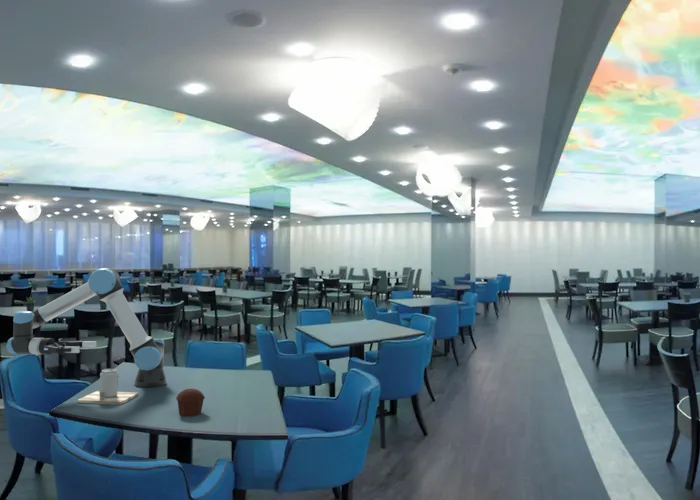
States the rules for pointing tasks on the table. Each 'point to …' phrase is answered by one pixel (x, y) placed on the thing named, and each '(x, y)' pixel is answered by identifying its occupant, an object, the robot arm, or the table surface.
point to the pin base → (100, 399)
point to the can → (109, 382)
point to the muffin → (190, 402)
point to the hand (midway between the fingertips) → (88, 347)
